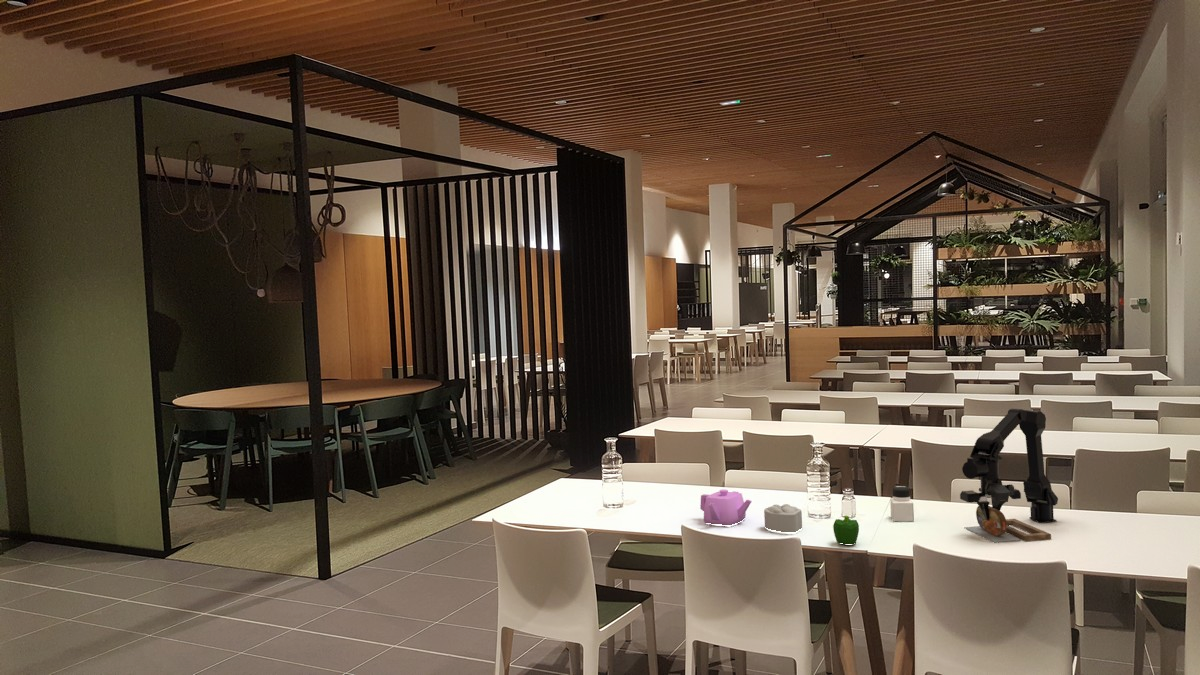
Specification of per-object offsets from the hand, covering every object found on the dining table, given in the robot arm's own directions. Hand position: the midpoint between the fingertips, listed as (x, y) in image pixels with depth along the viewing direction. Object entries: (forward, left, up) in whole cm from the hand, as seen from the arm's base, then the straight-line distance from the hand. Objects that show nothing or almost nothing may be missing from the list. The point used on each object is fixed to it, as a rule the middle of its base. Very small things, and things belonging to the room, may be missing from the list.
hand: (991, 520), depth 287 cm
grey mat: (0, 0, -5) cm, 5 cm away
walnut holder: (-10, 0, -5) cm, 11 cm away
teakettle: (+82, -41, -5) cm, 92 cm away
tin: (-1, 0, -4) cm, 4 cm away
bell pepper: (+50, -2, -5) cm, 50 cm away
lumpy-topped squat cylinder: (+65, -25, -5) cm, 70 cm away
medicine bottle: (+19, -27, -5) cm, 33 cm away
